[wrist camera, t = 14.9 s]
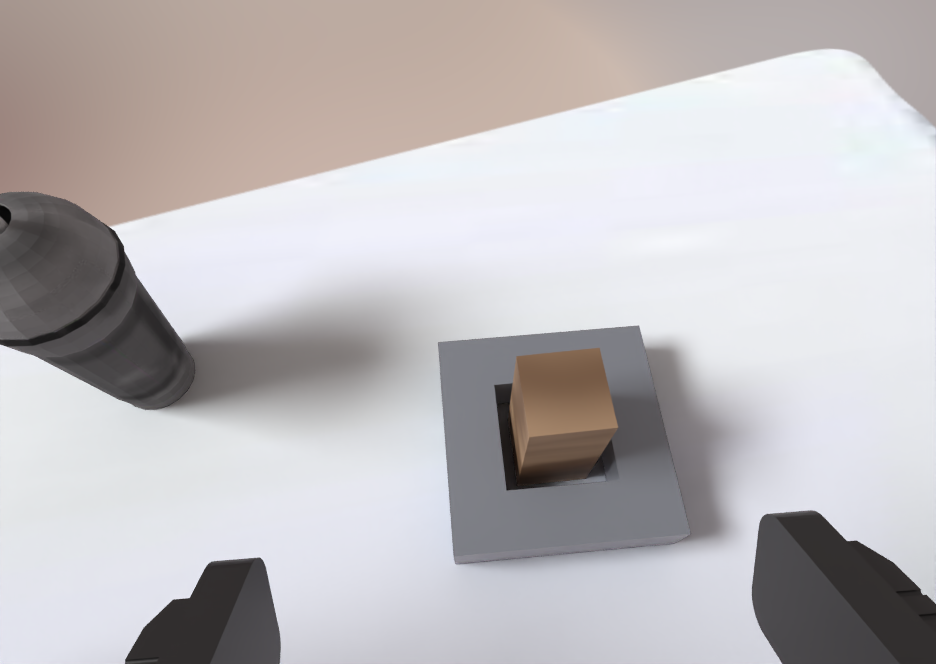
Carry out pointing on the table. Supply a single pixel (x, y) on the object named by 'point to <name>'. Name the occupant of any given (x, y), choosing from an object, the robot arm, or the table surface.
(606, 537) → the socket
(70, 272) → the beverage cup
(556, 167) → the table surface
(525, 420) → the peg
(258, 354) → the table surface
